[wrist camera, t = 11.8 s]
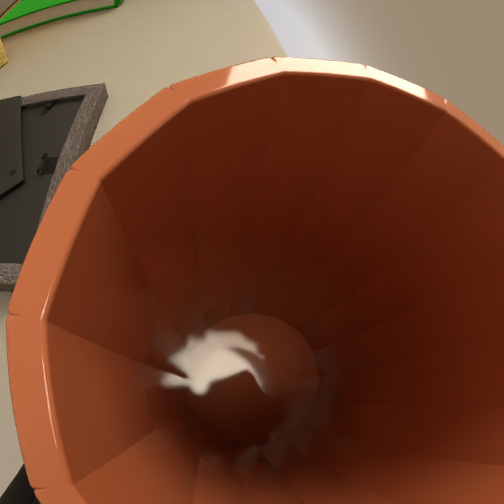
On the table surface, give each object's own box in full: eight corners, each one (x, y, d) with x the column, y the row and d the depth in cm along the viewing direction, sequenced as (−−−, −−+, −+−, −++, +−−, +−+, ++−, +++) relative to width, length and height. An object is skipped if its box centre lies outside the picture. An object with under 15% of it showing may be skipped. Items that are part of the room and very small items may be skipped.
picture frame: (-3, 115, 22) (-68, 283, 15) (-10, 102, 20) (-82, 274, 13) (108, 96, 24) (55, 294, 17) (104, 79, 22) (41, 283, 15)
